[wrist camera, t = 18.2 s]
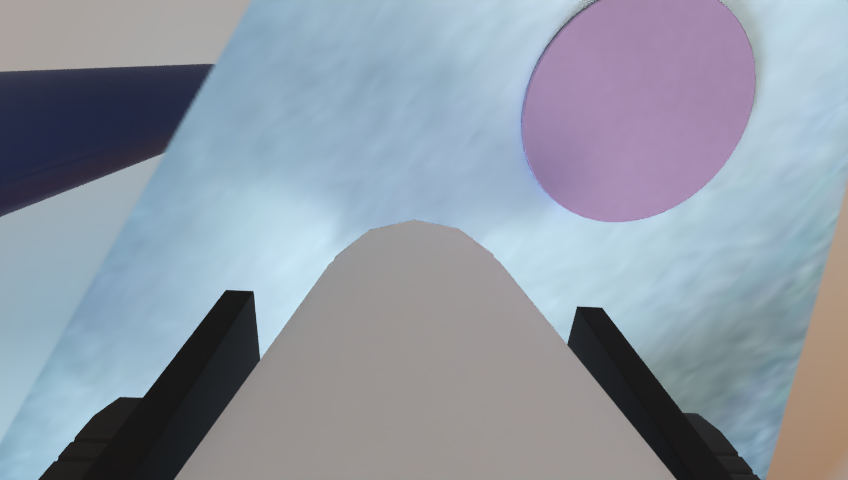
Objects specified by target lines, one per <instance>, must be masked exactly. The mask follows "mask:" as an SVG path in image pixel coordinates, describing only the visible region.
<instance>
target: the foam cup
mask: <svg viewBox="0 0 848 480" xmlns="http://www.w3.org/2000/svg"><path fill="white" fill-rule="evenodd" d="M174 480H676V478H675V477H674V476H673V475H672V473H671V472H670V471H669V470H668V469H667V467H666V466H665V465H664V464H663V462H662V461H661V460H660V459H659V457H658V456H657V455H656V454H655V453H654V451H653V450H652V449H651V448H650V446H649V445H648V444H647V443H646V441H645V440H644V439H643V438H642V437H641V435H640V434H639V433H638V432H637V430H636V429H635V428H634V427H633V425H632V424H631V423H630V422H629V421H628V419H627V418H626V417H625V416H624V414H623V413H622V412H621V411H620V409H619V408H618V407H617V406H616V404H615V403H614V402H613V401H612V400H611V398H610V397H609V396H608V395H607V393H606V392H605V391H604V390H603V388H602V387H601V386H600V385H599V384H598V382H597V381H596V380H595V379H594V377H593V376H592V375H591V374H590V372H589V371H588V370H587V369H586V368H585V366H584V365H583V364H582V363H581V361H580V360H579V359H578V358H577V356H576V355H575V354H574V353H573V352H572V350H571V349H570V348H569V347H568V345H567V344H566V343H565V342H564V340H563V339H562V338H561V337H560V336H559V334H558V333H557V332H556V331H555V329H554V328H553V327H552V326H551V324H550V323H549V322H548V321H547V320H546V318H545V317H544V316H543V315H542V313H541V312H540V311H539V310H538V308H537V307H536V306H535V305H534V303H533V302H532V301H531V300H530V299H529V297H528V296H527V295H526V294H525V292H524V291H523V290H522V289H521V287H520V286H519V285H518V284H517V283H516V281H515V280H514V279H513V278H512V276H511V275H510V274H509V273H508V271H507V270H506V269H505V268H504V267H503V265H502V264H501V263H500V262H499V261H498V260H497V259H495V258H494V255H493V254H492V253H490V252H489V251H488V250H486V249H485V248H484V247H483V246H481V245H480V244H479V243H477V242H476V241H475V240H473V239H472V238H471V237H469V236H468V235H467V234H465V233H464V232H463V231H461V230H460V229H457V228H452V227H447V226H442V225H437V224H432V223H427V222H423V221H418V220H412V221H408V222H403V223H399V224H394V225H390V226H385V227H380V228H376V229H371V230H369V231H368V232H366V233H365V234H364V235H363V236H361V237H360V238H359V239H357V240H356V241H355V242H353V243H352V244H351V245H350V246H348V247H347V248H346V249H344V250H343V251H342V252H341V253H339V254H338V255H337V256H336V257H335V259H334V261H333V262H331V263H330V264H329V265H328V267H327V268H326V270H325V271H324V272H323V274H322V275H321V277H320V278H319V279H318V281H317V282H316V283H315V285H314V286H313V288H312V289H311V290H310V292H309V293H308V295H307V296H306V297H305V299H304V300H303V301H302V303H301V304H300V306H299V307H298V308H297V310H296V311H295V313H294V314H293V315H292V317H291V318H290V320H289V321H288V322H287V324H286V325H285V326H284V328H283V329H282V331H281V332H280V333H279V335H278V336H277V338H276V339H275V340H274V342H273V343H272V344H271V346H270V347H269V349H268V350H267V351H266V353H265V354H264V356H263V357H262V358H261V360H260V361H259V362H258V364H257V365H256V367H255V368H254V369H253V371H252V372H251V374H250V375H249V376H248V378H247V379H246V381H245V382H244V383H243V385H242V386H241V387H240V389H239V390H238V392H237V393H236V394H235V396H234V397H233V399H232V400H231V401H230V403H229V404H228V405H227V407H226V408H225V410H224V411H223V412H222V414H221V415H220V417H219V418H218V419H217V421H216V422H215V424H214V425H213V426H212V428H211V429H210V430H209V432H208V433H207V435H206V436H205V437H204V439H203V440H202V442H201V443H200V444H199V446H198V447H197V448H196V450H195V451H194V453H193V454H192V455H191V457H190V458H189V460H188V461H187V462H186V464H185V465H184V466H183V468H182V469H181V471H180V472H179V473H178V475H177V476H176V478H175V479H174Z"/></svg>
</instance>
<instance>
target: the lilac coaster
mask: <svg viewBox="0 0 848 480" xmlns="http://www.w3.org/2000/svg"><path fill="white" fill-rule="evenodd" d="M755 79H756V76H755V63H754V58H753V53H752V48H751V45H750V43H749V40H748V37H747V35H746V32H745V31H744V29H743V27H742V26H741V24H740V22H739V21H738V19H737V18H736V17H735V16H734V14H733V13H732V12H731V11H730V10H729V8H727V7H726V6H725V5H724V4H723V3H721V2H720V1H719V0H598V1H596V2H595V3H593V4H591V5H590V6H588V7H587V8H585V9H584V10H583V11H581V12H580V13H579V14H578V15H576V16H575V17H574V18H573V19H572V20H570V21H569V22H568V23H567V24H566V25H565V26H564V27H563V28H562V29H561V30H560V31H559V33H558V34H557V35H556V36H555V38H554V39H553V40H552V41H551V42H550V44H549V45H548V47H547V48H546V50H545V51H544V53H543V54H542V56H541V58H540V59H539V61H538V63H537V65H536V67H535V69H534V71H533V74H532V76H531V79H530V82H529V84H528V87H527V90H526V95H525V99H524V103H523V111H522V121H521V123H522V140H523V146H524V151H525V155H526V158H527V161H528V164H529V166H530V168H531V171H532V173H533V175H534V177H535V178H536V180H537V181H538V183H539V184H540V186H541V187H542V188H543V189H544V190H545V191H546V192H547V194H548V195H549V196H550V197H551V198H552V199H554V200H555V201H556V202H557V203H558V204H560V205H561V206H563V207H564V208H566V209H567V210H569V211H571V212H573V213H575V214H577V215H580V216H582V217H585V218H589V219H593V220H597V221H605V222H626V221H635V220H639V219H644V218H648V217H651V216H654V215H657V214H660V213H662V212H665V211H667V210H669V209H671V208H673V207H675V206H677V205H679V204H680V203H682V202H683V201H685V200H687V199H688V198H690V197H691V196H692V195H694V194H695V193H696V192H698V191H699V190H700V189H701V188H703V187H704V186H705V185H706V184H707V183H708V182H709V181H710V180H711V179H712V178H713V177H714V176H715V175H716V174H717V173H718V171H719V170H720V169H721V168H722V167H723V166H724V164H725V163H726V161H727V160H728V159H729V157H730V156H731V154H732V153H733V151H734V150H735V148H736V146H737V144H738V142H739V141H740V139H741V137H742V134H743V132H744V130H745V128H746V125H747V123H748V119H749V116H750V113H751V110H752V105H753V99H754V94H755Z"/></svg>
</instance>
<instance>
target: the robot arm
mask: <svg viewBox="0 0 848 480" xmlns="http://www.w3.org/2000/svg"><path fill="white" fill-rule="evenodd" d="M567 345H568V347H569V348H570V349H571V350H572V352H573V353H574V354H575V355H576V356H577V358H578V359H579V360H580V361H581V363H582V364H583V365H584V366H585V368H586V369H587V370H588V371H589V372H590V374H591V375H592V376H593V377H594V379H595V380H596V381H597V382H598V384H599V385H600V386H601V387H602V388H603V390H604V391H605V392H606V393H607V395H608V396H609V397H610V398H611V400H612V401H613V402H614V403H615V404H616V406H617V407H618V408H619V409H620V411H621V412H622V413H623V414H624V416H625V417H626V418H627V419H628V421H629V422H630V423H631V424H632V425H633V427H634V428H635V429H636V430H637V432H638V433H639V434H640V435H641V437H642V438H643V439H644V440H645V441H646V443H647V444H648V445H649V446H650V448H651V449H652V450H653V451H654V453H655V454H656V455H657V456H658V457H659V459H660V460H661V461H662V462H663V464H664V465H665V466H666V467H667V469H668V470H669V471H670V472H671V473H672V475H673V476H674V477H675V478H676V480H760V479H759V477H758V476H757V475H754V474H753V472H752V471H753V470H752V469H751V468H750V467H749V465H748V464H747V463H746V462H745V461H744V459H743V458H742V457H739V456H738V452H737V451H736V450H735V448H734V447H733V446H732V445H731V444H730V442H729V441H728V440H727V439H726V438H725V436H724V435H723V434H722V433H721V432H720V431H719V430H718V429H717V428H715V427H714V426H713V425H711V424H710V423H709V422H708V421H706V420H705V419H704V418H702V417H701V416H700V415H699V414H694V413H682V411H681V410H680V409H679V408H678V406H677V405H676V404H675V402H674V401H673V400H672V398H671V397H670V396H669V395H668V393H667V392H666V391H665V389H664V388H663V387H662V385H661V384H660V383H659V381H658V380H657V379H656V378H655V376H654V375H653V374H652V372H651V371H650V370H649V368H648V367H647V366H646V365H645V363H644V362H643V361H642V359H641V358H640V357H639V355H638V354H637V353H636V351H635V350H634V349H633V348H632V346H631V345H630V344H629V342H628V341H627V340H626V338H625V337H624V336H623V335H622V333H621V332H620V331H619V329H618V328H617V327H616V325H615V324H614V323H613V321H612V320H611V319H610V318H609V316H608V315H607V314H606V312H605V311H604V310H603V308H597V307H577V309H576V313H575V317H574V321H573V325H572V329H571V333H570V336H569V340H568V344H567ZM259 361H260V354H259V343H258V333H257V323H256V313H255V302H254V292H253V291H234V290H226V291H225V292H224V293H223V295H222V296H221V297H220V299H219V300H218V301H217V302H216V304H215V305H214V306H213V308H212V309H211V310H210V312H209V313H208V314H207V315H206V317H205V318H204V319H203V321H202V322H201V323H200V325H199V326H198V327H197V328H196V330H195V331H194V332H193V334H192V335H191V336H190V338H189V339H188V340H187V341H186V343H185V344H184V345H183V347H182V348H181V349H180V351H179V352H178V353H177V354H176V356H175V357H174V358H173V360H172V361H171V362H170V364H169V365H168V366H167V367H166V369H165V370H164V371H163V373H162V374H161V375H160V377H159V378H158V379H157V380H156V382H155V383H154V384H153V386H152V387H151V388H150V390H149V391H148V392H147V393H146V395H145V396H144V397H143V398H129V397H120V398H118V399H117V400H115V401H114V402H112V403H111V404H110V405H108V406H107V407H105V408H104V409H103V410H101V411H100V412H98V413H97V414H95V415H94V416H93V417H92V418H91V420H90V421H89V422H88V423H87V424H86V425H85V426H84V428H83V429H82V430H81V431H80V432H79V433H78V435H77V436H76V437H75V440H74V442H71V443H70V444H69V445H68V446H67V447H66V448H65V449H64V451H63V452H62V453H61V454H60V455H59V456H58V457H59V458H58V460H57V461H54V462H53V463H52V464H51V466H50V467H49V468H48V469H47V470H46V471H45V473H44V474H43V475H42V476H41V477H40V478H39V479H38V480H174V479H175V478H176V476H177V475H178V473H179V472H180V471H181V469H182V468H183V466H184V465H185V464H186V462H187V461H188V460H189V458H190V457H191V455H192V454H193V453H194V451H195V450H196V448H197V447H198V446H199V444H200V443H201V442H202V440H203V439H204V437H205V436H206V435H207V433H208V432H209V430H210V429H211V428H212V426H213V425H214V424H215V422H216V421H217V419H218V418H219V417H220V415H221V414H222V412H223V411H224V410H225V408H226V407H227V405H228V404H229V403H230V401H231V400H232V399H233V397H234V396H235V394H236V393H237V392H238V390H239V389H240V387H241V386H242V385H243V383H244V382H245V381H246V379H247V378H248V376H249V375H250V374H251V372H252V371H253V369H254V368H255V367H256V365H257V364H258V362H259Z"/></svg>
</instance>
